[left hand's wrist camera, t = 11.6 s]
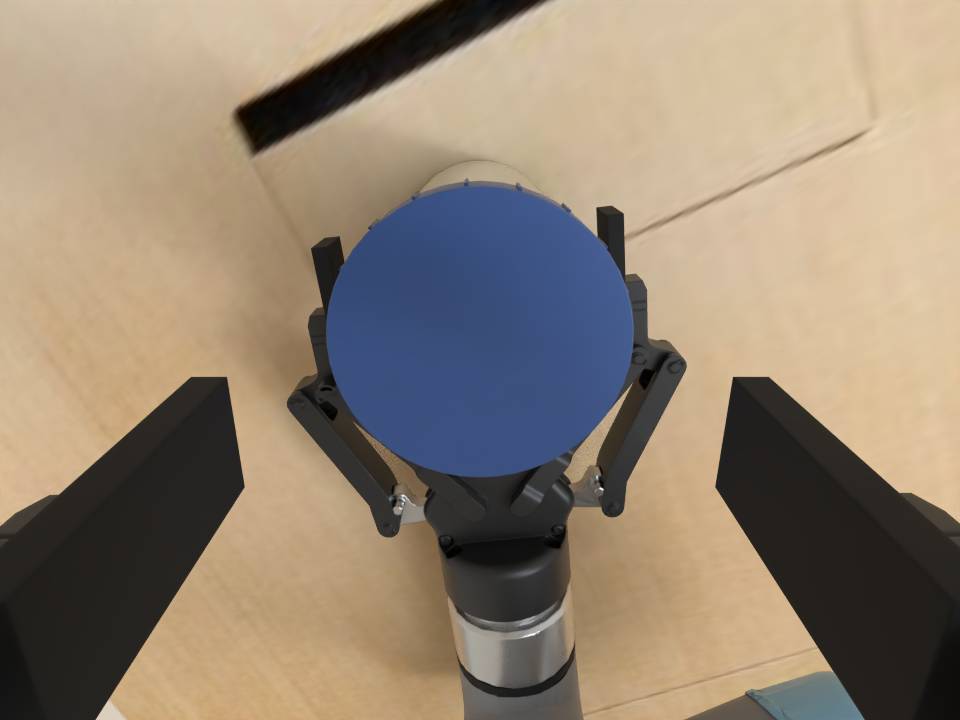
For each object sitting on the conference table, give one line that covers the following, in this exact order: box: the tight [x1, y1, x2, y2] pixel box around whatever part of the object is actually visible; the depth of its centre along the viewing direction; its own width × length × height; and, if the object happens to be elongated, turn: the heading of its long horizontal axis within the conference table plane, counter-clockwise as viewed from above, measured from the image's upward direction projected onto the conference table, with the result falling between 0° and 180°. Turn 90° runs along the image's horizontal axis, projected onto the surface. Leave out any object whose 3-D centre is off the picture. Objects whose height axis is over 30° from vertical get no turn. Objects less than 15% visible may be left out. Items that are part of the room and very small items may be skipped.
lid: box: [326, 179, 634, 477], centre depth 20 cm, size 9×10×2 cm
